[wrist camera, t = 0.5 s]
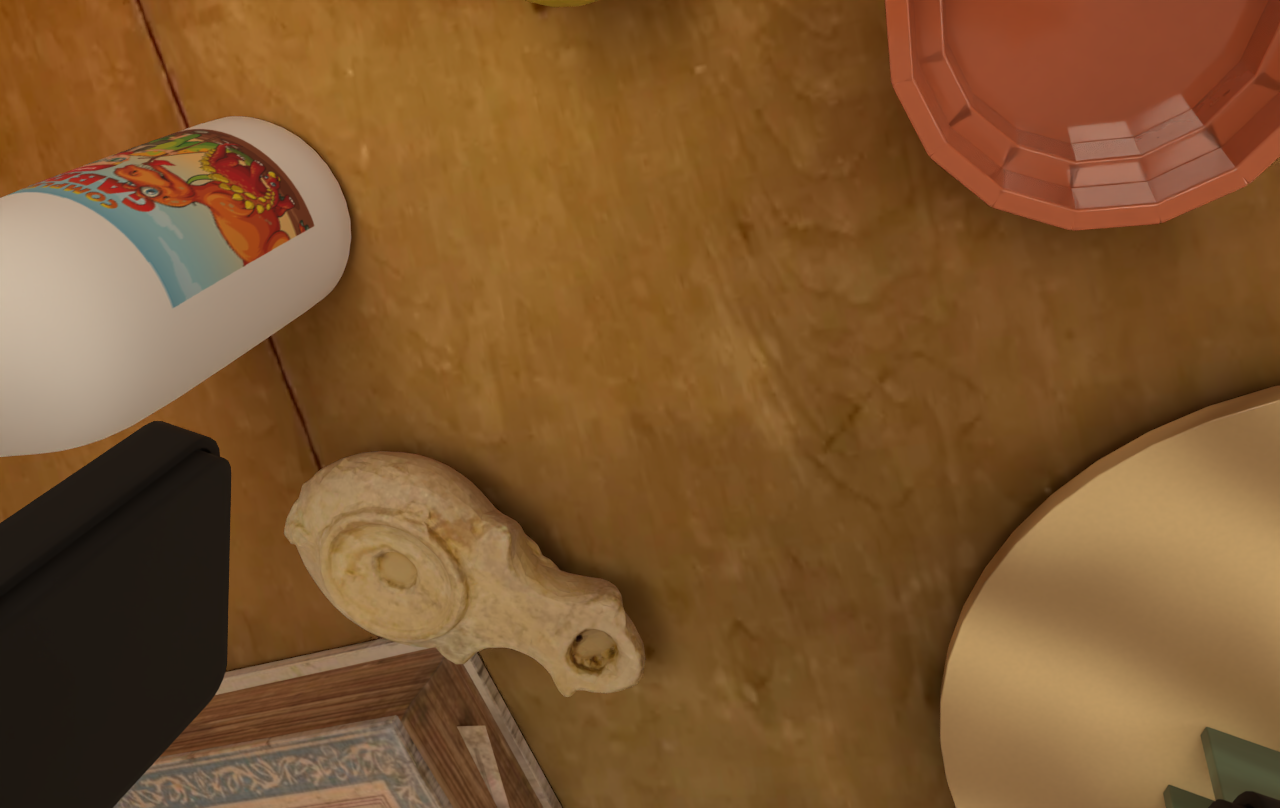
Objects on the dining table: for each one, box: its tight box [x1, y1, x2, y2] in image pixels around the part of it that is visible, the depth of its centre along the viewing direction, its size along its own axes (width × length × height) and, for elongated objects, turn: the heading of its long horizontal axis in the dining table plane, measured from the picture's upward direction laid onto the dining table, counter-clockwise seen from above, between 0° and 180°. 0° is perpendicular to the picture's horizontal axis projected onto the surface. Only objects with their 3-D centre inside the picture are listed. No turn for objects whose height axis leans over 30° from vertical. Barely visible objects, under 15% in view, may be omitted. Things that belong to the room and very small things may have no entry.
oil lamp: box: [284, 451, 646, 697], centre depth 45 cm, size 11×14×5 cm
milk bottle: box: [0, 116, 351, 457], centre depth 35 cm, size 8×8×20 cm
